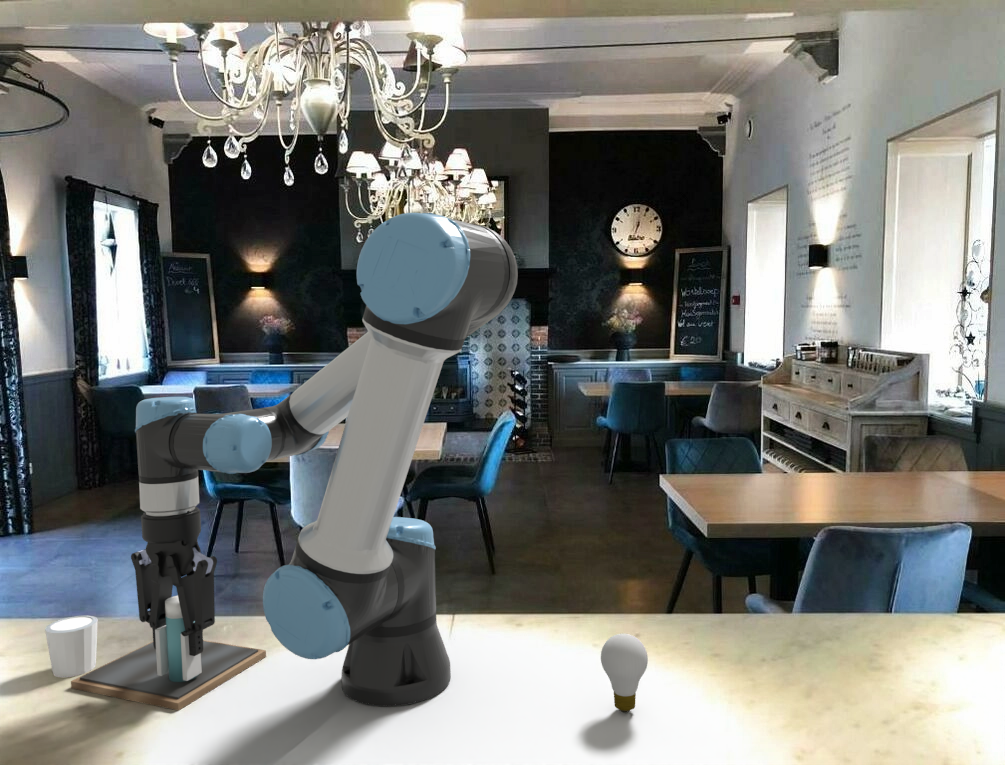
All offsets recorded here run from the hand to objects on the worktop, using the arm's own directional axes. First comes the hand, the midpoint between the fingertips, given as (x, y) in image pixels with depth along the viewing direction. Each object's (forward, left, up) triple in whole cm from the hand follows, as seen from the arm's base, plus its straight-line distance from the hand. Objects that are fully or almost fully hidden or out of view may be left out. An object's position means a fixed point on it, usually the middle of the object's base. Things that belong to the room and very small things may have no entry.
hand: (179, 673), depth 108 cm
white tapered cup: (+20, +1, -2) cm, 20 cm away
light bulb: (-60, -13, -2) cm, 62 cm away
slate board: (+5, -3, -2) cm, 6 cm away
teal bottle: (0, -1, -1) cm, 1 cm away
